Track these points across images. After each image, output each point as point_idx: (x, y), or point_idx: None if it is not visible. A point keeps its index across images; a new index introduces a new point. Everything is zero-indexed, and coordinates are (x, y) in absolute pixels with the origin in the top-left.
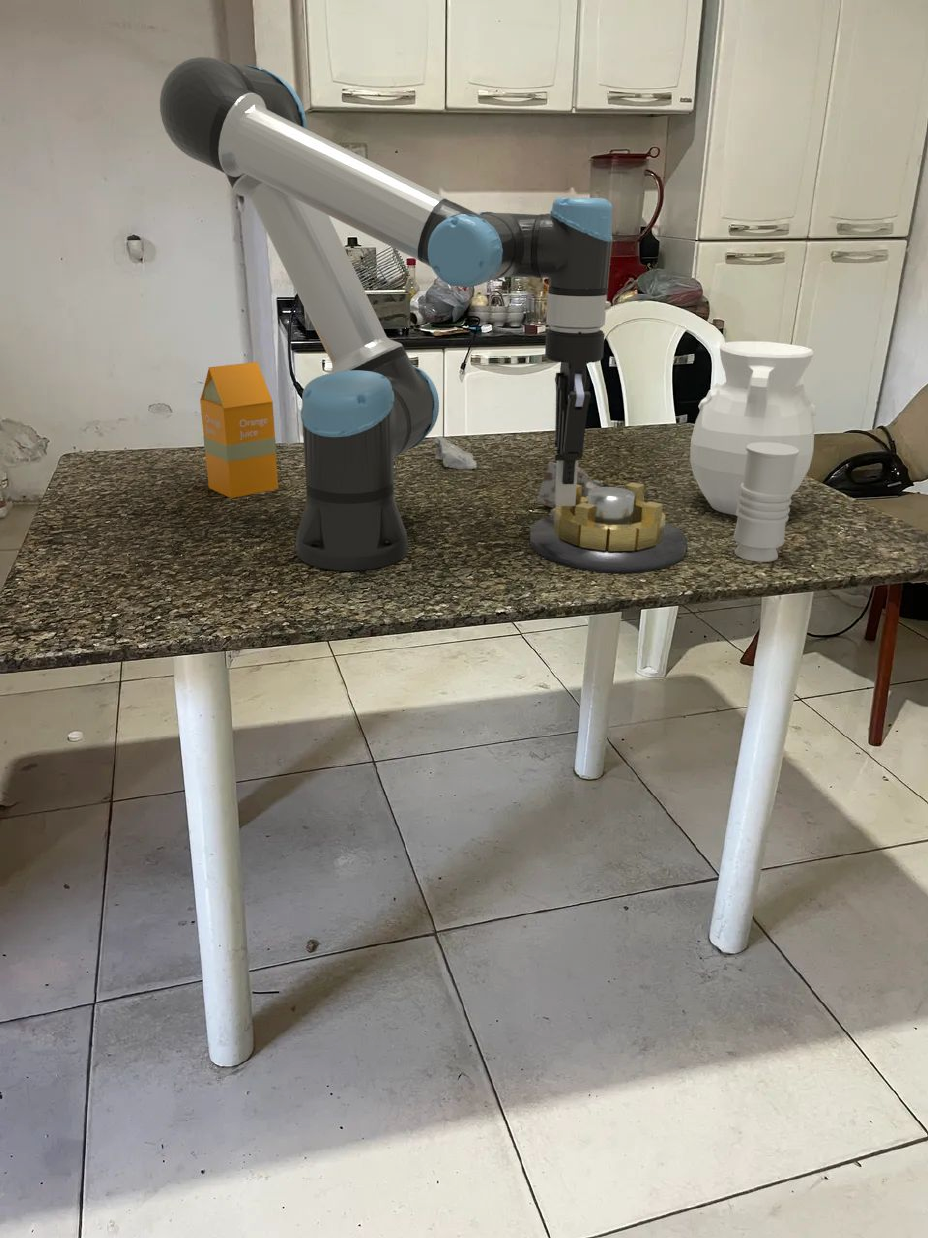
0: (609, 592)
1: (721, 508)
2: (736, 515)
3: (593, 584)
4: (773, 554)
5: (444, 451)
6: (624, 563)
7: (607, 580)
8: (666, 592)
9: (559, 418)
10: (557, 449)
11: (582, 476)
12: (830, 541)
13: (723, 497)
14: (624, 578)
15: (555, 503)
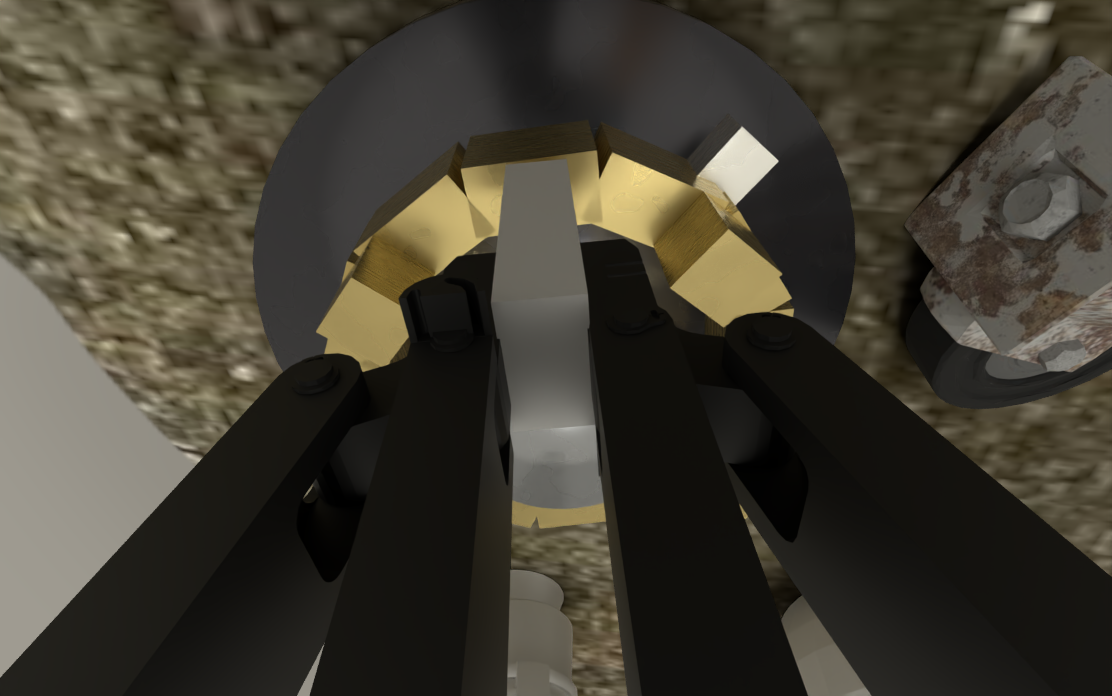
0: (90, 274)
1: None
2: (517, 661)
3: (139, 230)
4: None
5: None
6: (273, 350)
7: (199, 278)
8: (174, 417)
9: (708, 617)
10: (623, 329)
11: (1020, 326)
12: (606, 692)
13: (804, 629)
14: (240, 328)
15: (528, 164)
